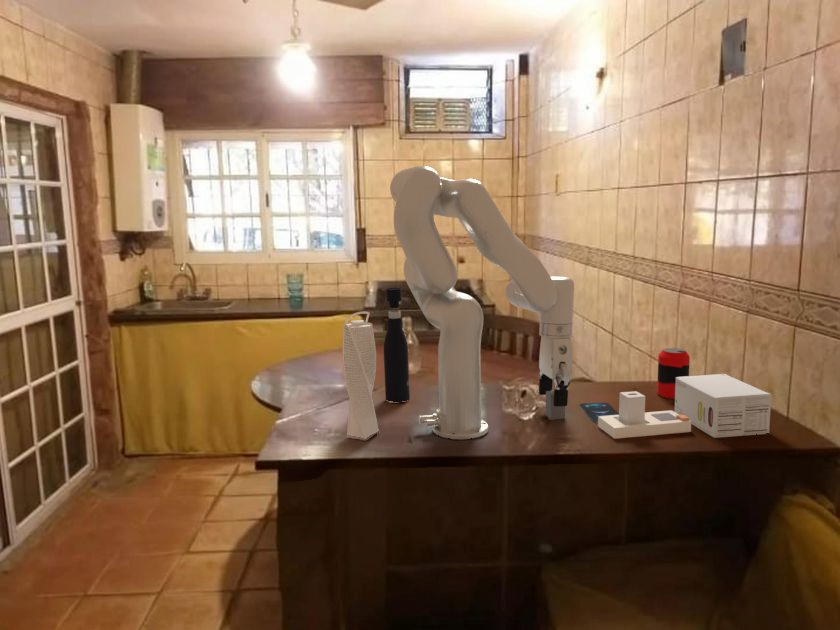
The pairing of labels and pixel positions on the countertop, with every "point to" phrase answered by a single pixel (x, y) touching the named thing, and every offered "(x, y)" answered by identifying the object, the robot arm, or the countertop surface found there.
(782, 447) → the countertop surface
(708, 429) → the supplement box
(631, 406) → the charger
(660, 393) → the soda can
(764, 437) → the countertop surface
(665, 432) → the power strip
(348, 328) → the skyscraper
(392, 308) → the wine bottle
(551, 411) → the cable plug
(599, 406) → the smartphone
